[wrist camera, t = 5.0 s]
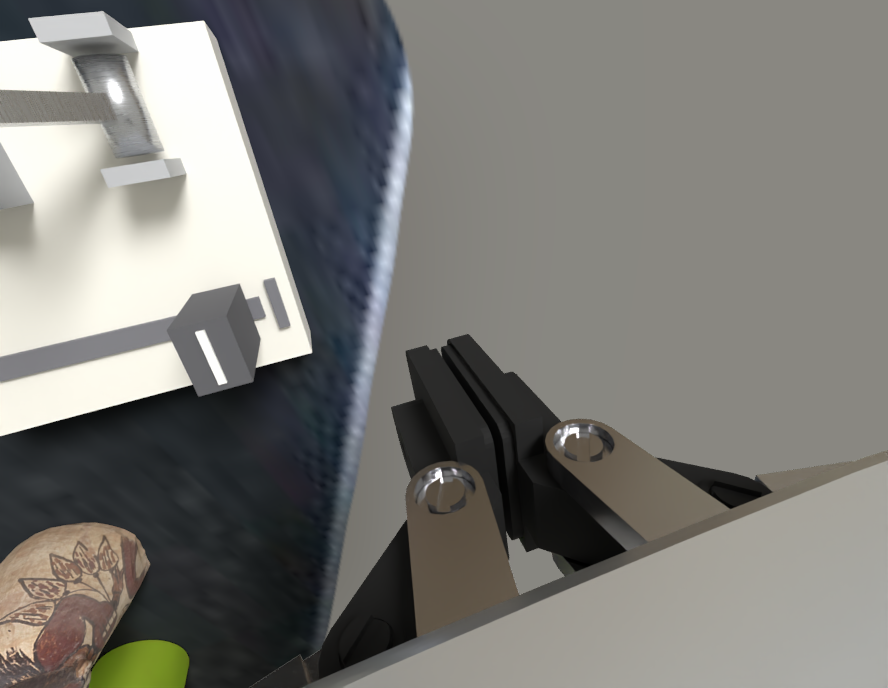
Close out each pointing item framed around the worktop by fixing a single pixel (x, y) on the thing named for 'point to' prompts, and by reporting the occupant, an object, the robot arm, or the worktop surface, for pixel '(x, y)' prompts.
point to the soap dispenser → (142, 666)
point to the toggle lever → (91, 105)
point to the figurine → (64, 602)
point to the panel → (127, 225)
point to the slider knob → (216, 339)
